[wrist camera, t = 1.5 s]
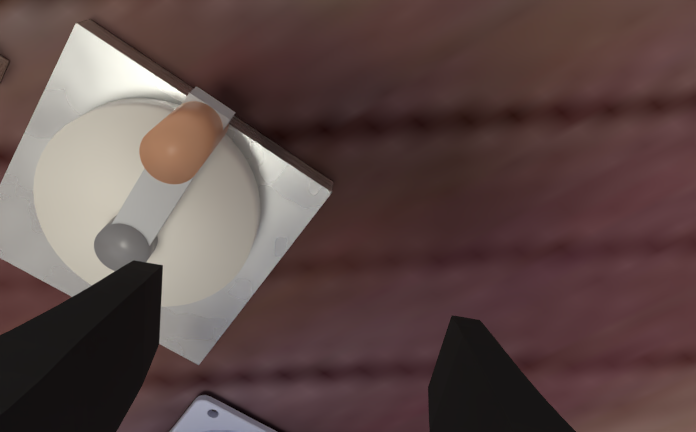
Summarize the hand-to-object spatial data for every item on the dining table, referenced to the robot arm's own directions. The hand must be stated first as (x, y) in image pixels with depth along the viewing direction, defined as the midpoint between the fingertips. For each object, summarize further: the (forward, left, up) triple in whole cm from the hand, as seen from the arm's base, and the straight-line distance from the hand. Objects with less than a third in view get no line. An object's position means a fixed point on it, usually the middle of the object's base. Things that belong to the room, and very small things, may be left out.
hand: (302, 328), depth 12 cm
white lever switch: (+5, +4, -9) cm, 11 cm away
